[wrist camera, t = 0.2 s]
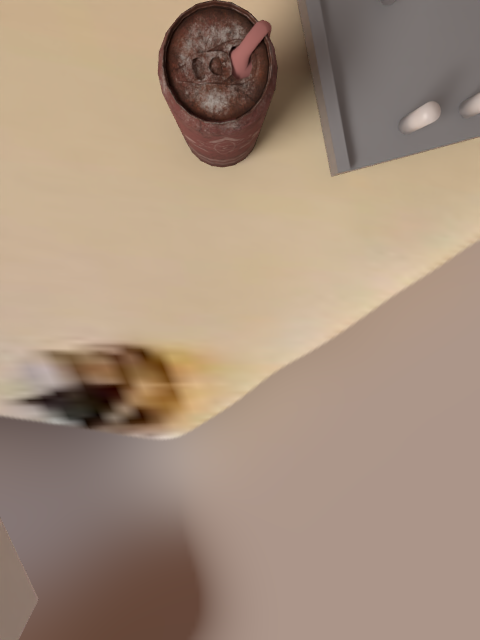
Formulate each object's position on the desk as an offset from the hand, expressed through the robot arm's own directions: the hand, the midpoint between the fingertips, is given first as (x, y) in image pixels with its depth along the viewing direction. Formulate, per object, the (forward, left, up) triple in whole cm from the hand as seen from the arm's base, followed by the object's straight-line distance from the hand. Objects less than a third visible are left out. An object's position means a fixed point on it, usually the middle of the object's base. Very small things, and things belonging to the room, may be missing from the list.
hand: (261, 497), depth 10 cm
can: (-14, +3, -27) cm, 31 cm away
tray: (-15, +20, -27) cm, 37 cm away
